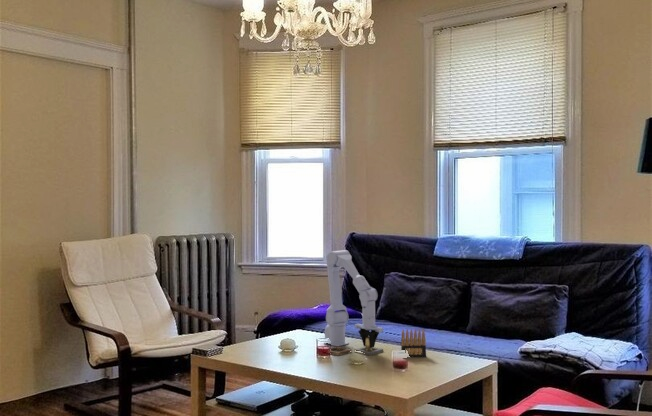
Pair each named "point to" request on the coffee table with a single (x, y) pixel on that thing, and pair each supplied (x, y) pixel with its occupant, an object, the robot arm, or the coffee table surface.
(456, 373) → the coffee table surface
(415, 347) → the ammunition clip
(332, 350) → the rack block
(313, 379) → the coffee table surface
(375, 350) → the socket block
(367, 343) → the brass peg
